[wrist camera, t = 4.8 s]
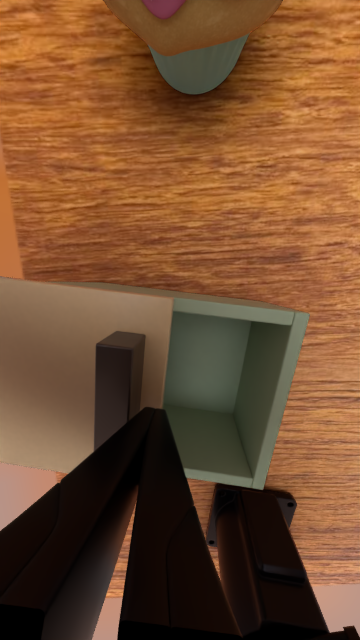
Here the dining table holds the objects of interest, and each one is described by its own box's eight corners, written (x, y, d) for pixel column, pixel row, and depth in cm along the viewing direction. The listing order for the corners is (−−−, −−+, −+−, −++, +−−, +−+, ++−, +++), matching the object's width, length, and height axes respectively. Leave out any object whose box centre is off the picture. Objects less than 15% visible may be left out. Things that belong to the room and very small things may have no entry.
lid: (155, 474, 9) (144, 534, 7) (-50, 442, 9) (-121, 488, 7) (174, 297, 7) (167, 302, 5) (-81, 266, 8) (-188, 259, 6)
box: (237, 417, 14) (263, 490, 9) (98, 397, 14) (50, 457, 9) (262, 301, 12) (310, 313, 7) (101, 282, 12) (42, 281, 8)
